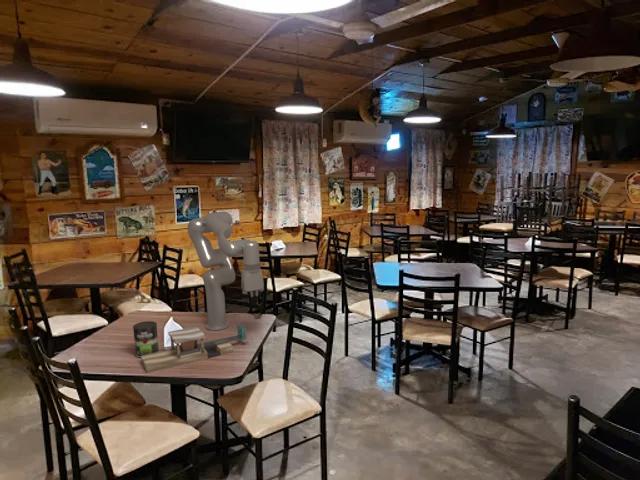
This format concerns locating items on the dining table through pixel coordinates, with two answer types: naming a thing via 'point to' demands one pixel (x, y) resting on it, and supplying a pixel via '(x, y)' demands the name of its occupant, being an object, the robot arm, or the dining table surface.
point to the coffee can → (145, 338)
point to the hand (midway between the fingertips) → (254, 304)
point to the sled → (240, 335)
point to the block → (187, 345)
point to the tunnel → (173, 356)
